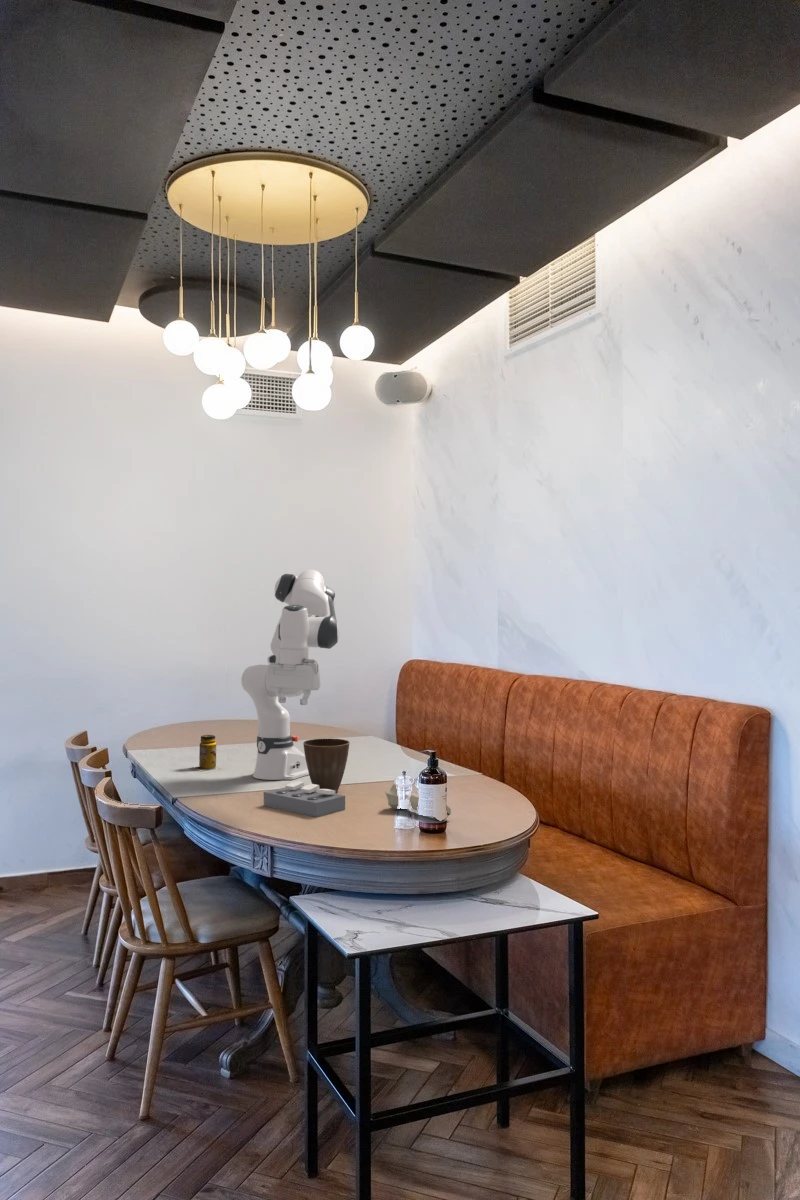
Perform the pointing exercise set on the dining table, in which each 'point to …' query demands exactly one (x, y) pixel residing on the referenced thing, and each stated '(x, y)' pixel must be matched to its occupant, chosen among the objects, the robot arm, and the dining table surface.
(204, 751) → the condiment
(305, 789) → the rocker
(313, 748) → the plant pot
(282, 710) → the robot arm
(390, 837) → the dining table surface
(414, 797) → the faceted club
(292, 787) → the rocker
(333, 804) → the switch panel
